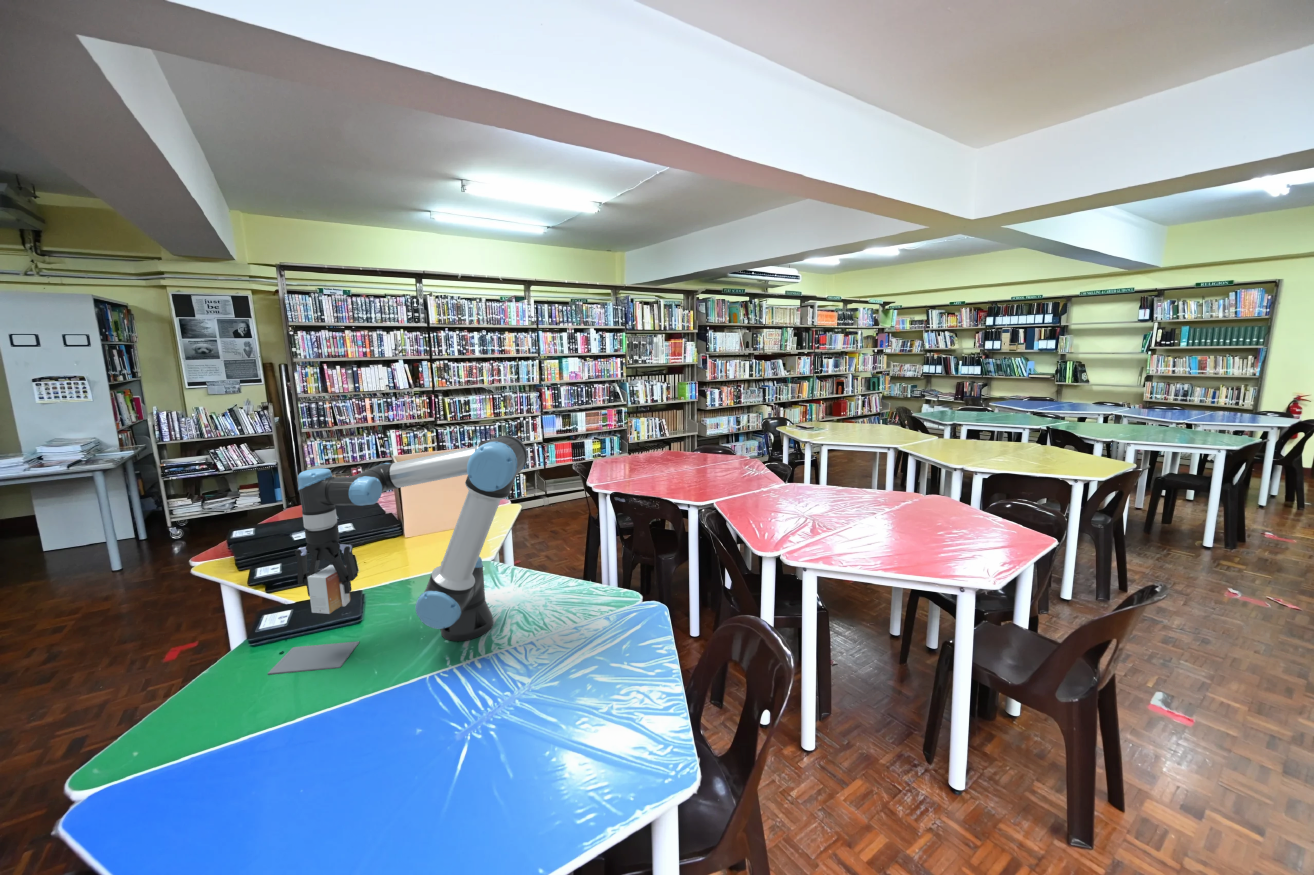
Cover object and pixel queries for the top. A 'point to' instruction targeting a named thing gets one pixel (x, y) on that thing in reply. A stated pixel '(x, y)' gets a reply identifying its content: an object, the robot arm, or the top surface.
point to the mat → (314, 657)
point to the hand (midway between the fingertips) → (331, 604)
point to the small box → (325, 590)
